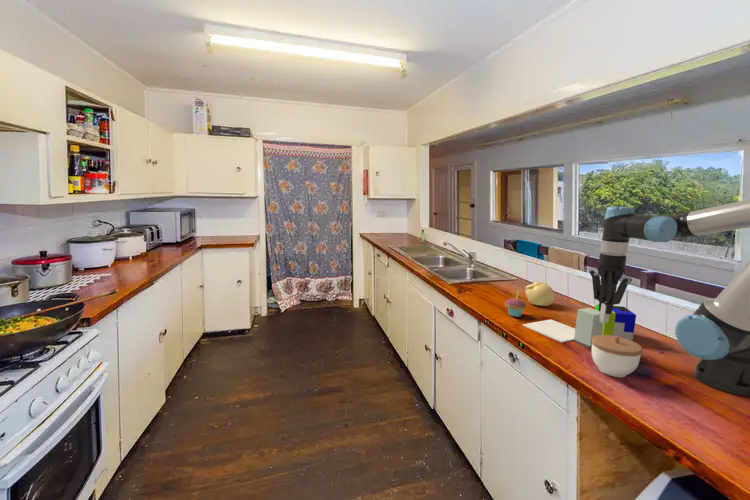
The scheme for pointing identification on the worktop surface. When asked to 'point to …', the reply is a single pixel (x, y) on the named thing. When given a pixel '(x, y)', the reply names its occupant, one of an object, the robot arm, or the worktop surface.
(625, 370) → the lidded bowl
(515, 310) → the cupcake
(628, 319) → the puzzle toy
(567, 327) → the board
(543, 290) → the sculpture
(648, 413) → the worktop surface
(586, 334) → the sage block
